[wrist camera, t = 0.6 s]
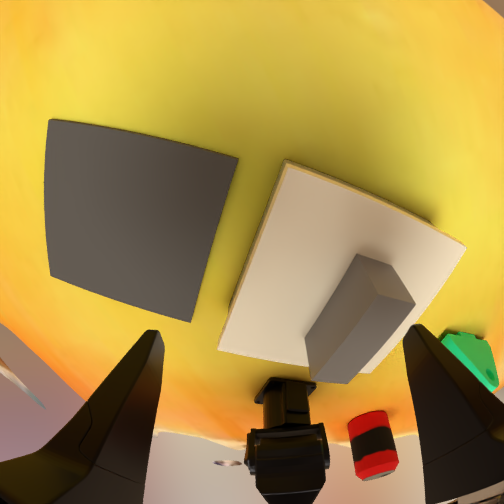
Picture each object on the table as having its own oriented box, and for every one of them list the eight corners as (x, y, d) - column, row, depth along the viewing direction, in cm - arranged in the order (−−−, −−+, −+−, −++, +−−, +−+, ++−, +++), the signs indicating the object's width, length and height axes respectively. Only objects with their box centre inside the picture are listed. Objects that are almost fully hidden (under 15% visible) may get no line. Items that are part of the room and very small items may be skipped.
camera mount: (410, 365, 32) (432, 425, 23) (444, 327, 28) (477, 389, 20) (453, 367, 34) (475, 416, 25) (483, 335, 30) (510, 384, 22)
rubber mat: (191, 319, 27) (190, 322, 26) (52, 273, 24) (50, 275, 24) (238, 158, 19) (238, 160, 18) (52, 118, 16) (48, 119, 16)
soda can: (363, 429, 43) (373, 480, 33) (338, 426, 41) (347, 483, 31) (393, 412, 40) (408, 466, 30) (370, 407, 38) (385, 469, 28)
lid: (367, 365, 25) (379, 407, 20) (218, 340, 22) (212, 391, 18) (460, 241, 17) (496, 278, 13) (286, 162, 15) (299, 192, 11)
